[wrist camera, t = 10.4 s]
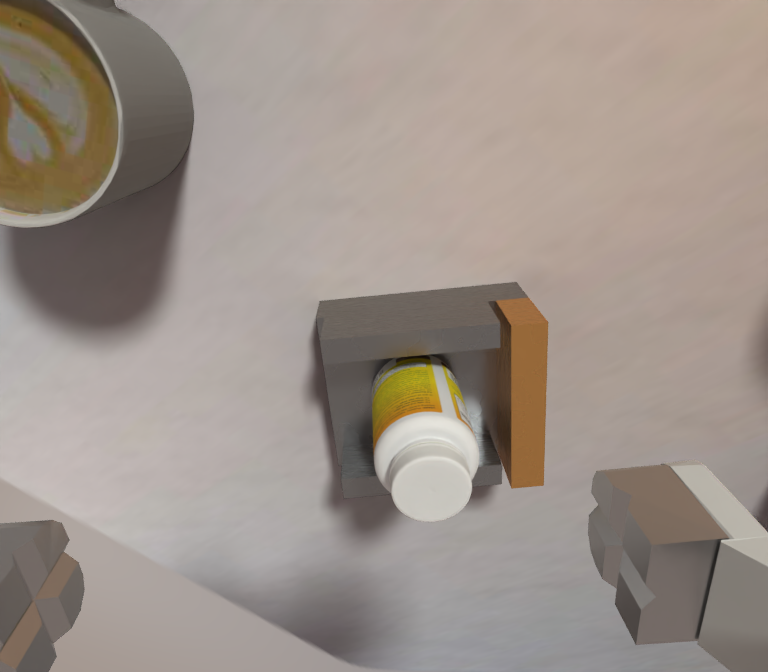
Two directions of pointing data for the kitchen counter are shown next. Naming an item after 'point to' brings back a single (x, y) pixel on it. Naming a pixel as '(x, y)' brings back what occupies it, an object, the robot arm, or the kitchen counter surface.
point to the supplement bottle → (423, 438)
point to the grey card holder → (463, 356)
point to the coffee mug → (84, 109)
